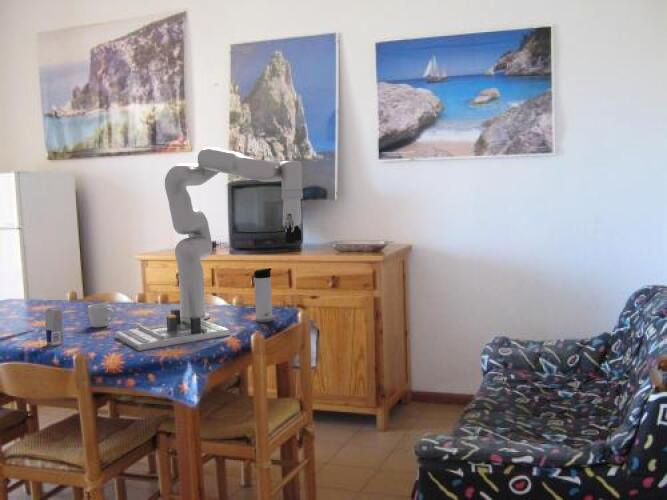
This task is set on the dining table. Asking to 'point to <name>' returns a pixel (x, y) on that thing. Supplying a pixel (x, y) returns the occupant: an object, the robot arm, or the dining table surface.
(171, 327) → the block
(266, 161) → the robot arm
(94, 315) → the cup
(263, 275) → the travel mug
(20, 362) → the dining table surface
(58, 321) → the energy drink
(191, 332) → the panel
